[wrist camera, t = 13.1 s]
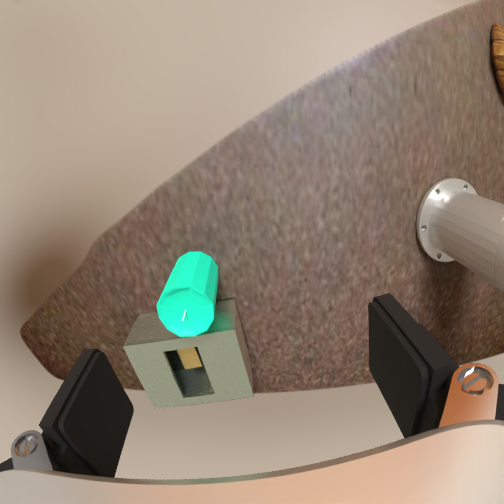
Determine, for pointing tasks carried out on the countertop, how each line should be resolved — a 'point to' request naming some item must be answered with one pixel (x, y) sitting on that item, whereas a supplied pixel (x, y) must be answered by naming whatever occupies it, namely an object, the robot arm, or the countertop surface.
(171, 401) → the coin box
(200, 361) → the block
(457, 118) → the countertop surface
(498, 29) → the croissant
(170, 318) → the candle
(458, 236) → the robot arm
